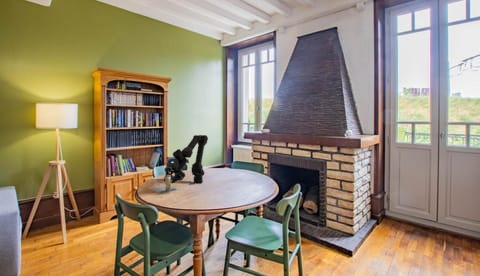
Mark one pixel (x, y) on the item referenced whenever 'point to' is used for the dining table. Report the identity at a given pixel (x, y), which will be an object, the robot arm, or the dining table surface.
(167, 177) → the birch peg
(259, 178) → the dining table surface
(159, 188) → the board
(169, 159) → the handheld scanner
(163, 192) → the strip
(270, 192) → the dining table surface
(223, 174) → the dining table surface
